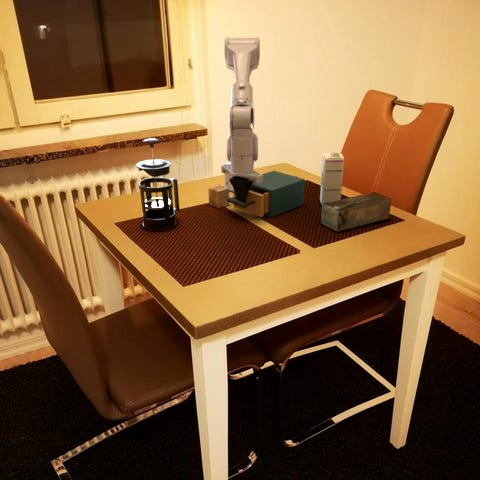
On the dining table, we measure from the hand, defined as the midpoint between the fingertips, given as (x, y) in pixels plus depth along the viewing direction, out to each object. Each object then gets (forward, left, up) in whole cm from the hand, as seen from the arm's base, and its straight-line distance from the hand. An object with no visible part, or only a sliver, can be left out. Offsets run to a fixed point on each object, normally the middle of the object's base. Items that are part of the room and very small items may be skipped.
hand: (241, 202), depth 140 cm
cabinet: (0, +13, -4) cm, 14 cm away
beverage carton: (+25, +20, -4) cm, 32 cm away
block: (-12, +2, -4) cm, 13 cm away
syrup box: (+11, +27, -4) cm, 30 cm away
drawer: (0, +6, -3) cm, 7 cm away
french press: (-12, -20, -4) cm, 24 cm away
